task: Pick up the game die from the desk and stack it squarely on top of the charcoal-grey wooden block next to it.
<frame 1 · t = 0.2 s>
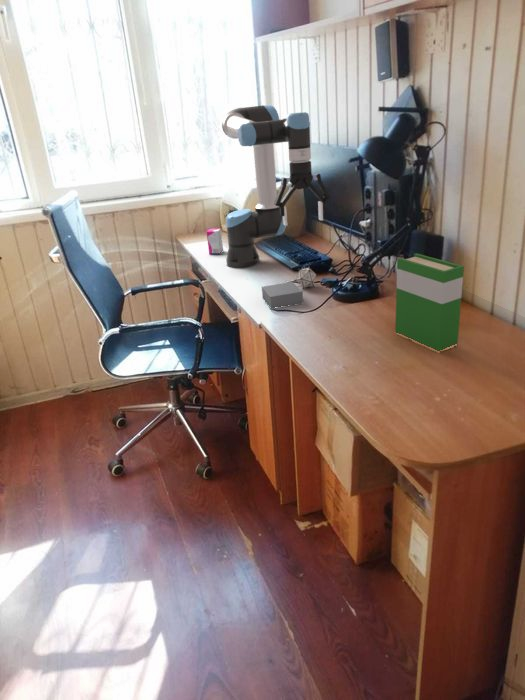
hand: (303, 222, 198), 26 cm above the table, tool pointing down, fingers open, 13 cm apart
hardback book: (425, 340, 162), on the table
base block: (282, 301, 201), on the table
game die: (306, 287, 213), on the table
supplement box: (216, 253, 269), on the table
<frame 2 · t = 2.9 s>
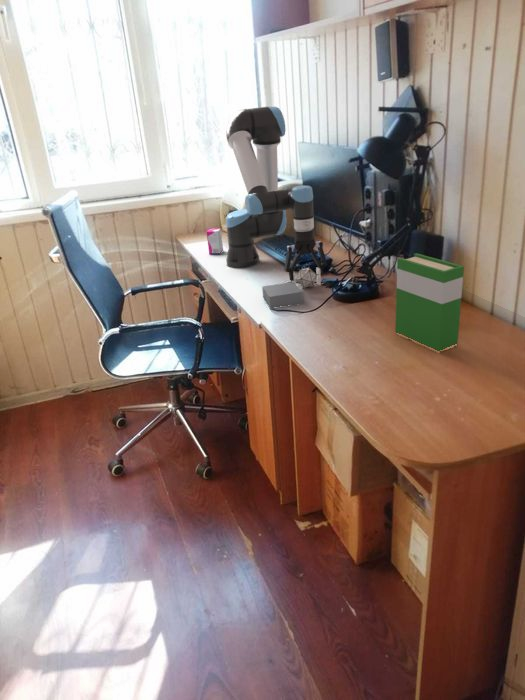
hand: (306, 286, 212), 0 cm above the table, tool pointing down, fingers closed on game die, 9 cm apart
game die: (306, 287, 213), on the table, touching gripper
everything else where it was.
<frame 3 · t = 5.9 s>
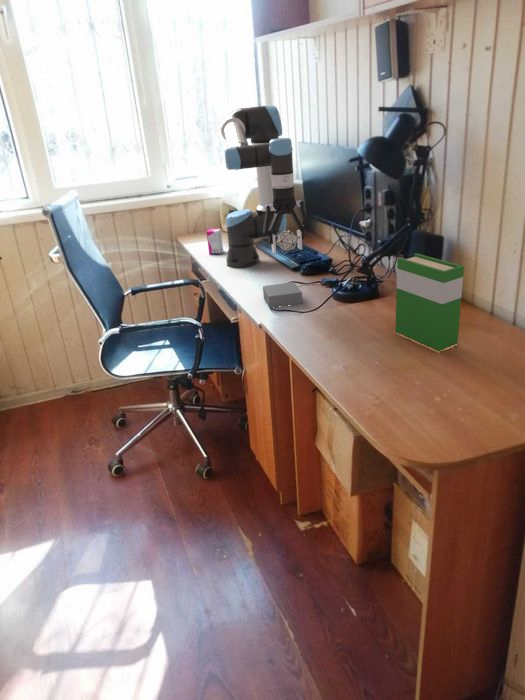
hand: (287, 250, 196), 18 cm above the table, tool pointing down, fingers closed on game die, 9 cm apart
game die: (287, 252, 197), point 17 cm above the table, touching gripper
everything else where it was.
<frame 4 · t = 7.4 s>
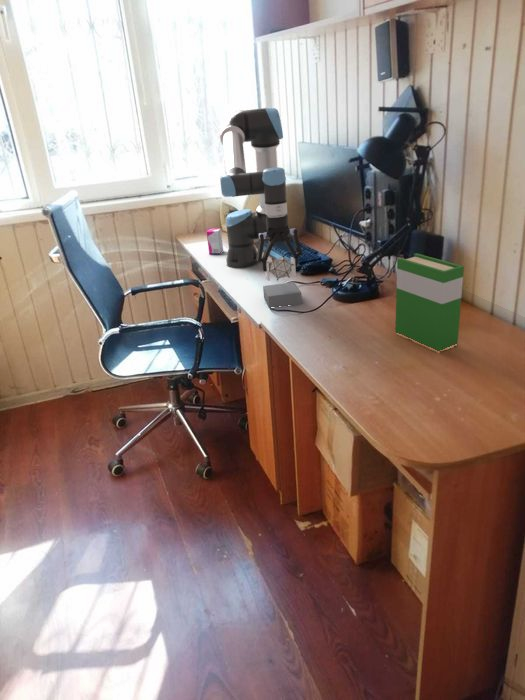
hand: (280, 277, 197), 9 cm above the table, tool pointing down, fingers closed on game die, 9 cm apart
game die: (281, 278, 197), point 9 cm above the table, touching gripper
everything else where it was.
when the fingers open (7 cm above the table, at t = 8.6 s): game die drops 2 cm, resting on base block.
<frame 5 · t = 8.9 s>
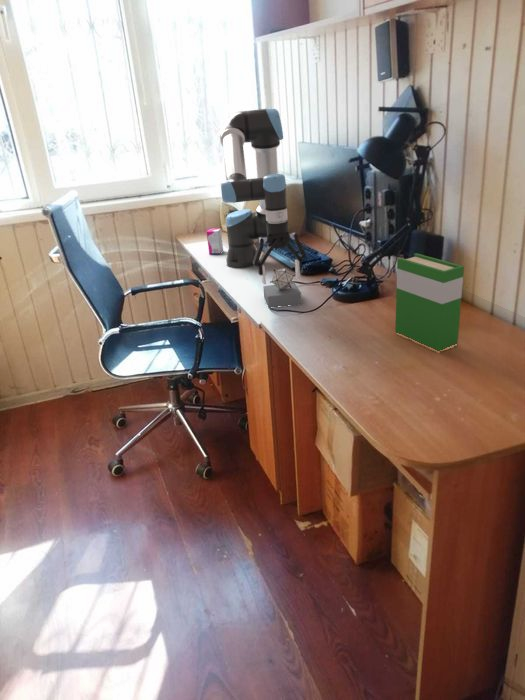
hand: (281, 280, 198), 8 cm above the table, tool pointing down, fingers open, 12 cm apart
base block: (282, 302, 201), on the table, touching game die
game die: (283, 289, 199), point 4 cm above the table, touching base block
everything else where it was.
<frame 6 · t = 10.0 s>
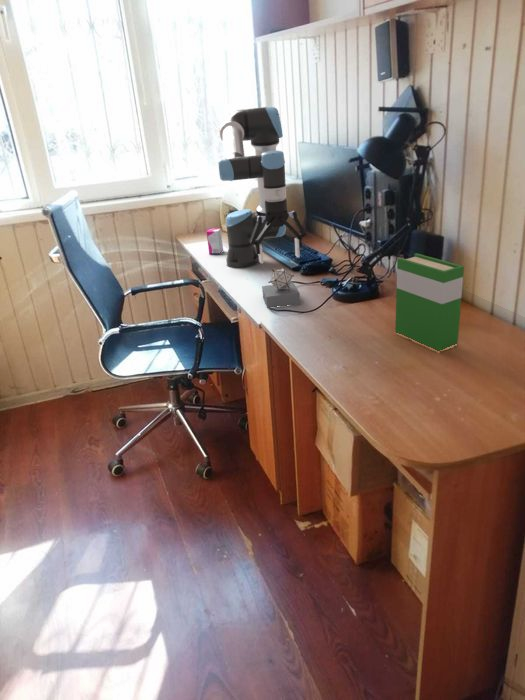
hand: (279, 259, 195), 16 cm above the table, tool pointing down, fingers open, 13 cm apart
nothing on the table moved.
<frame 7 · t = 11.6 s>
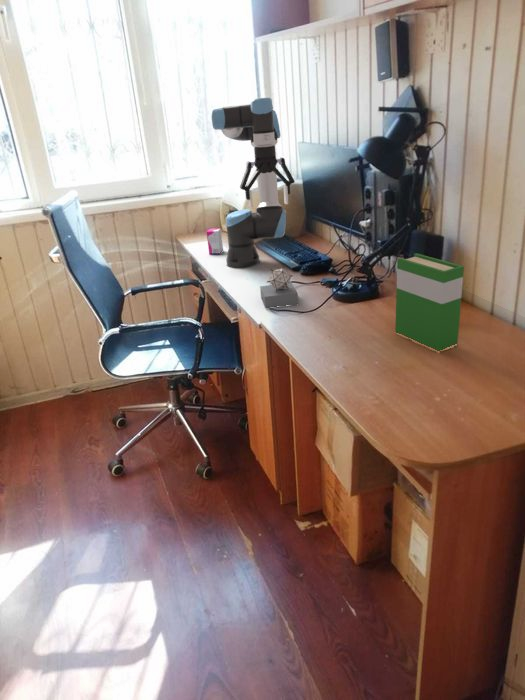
hand: (268, 206, 203), 32 cm above the table, tool pointing down, fingers open, 13 cm apart
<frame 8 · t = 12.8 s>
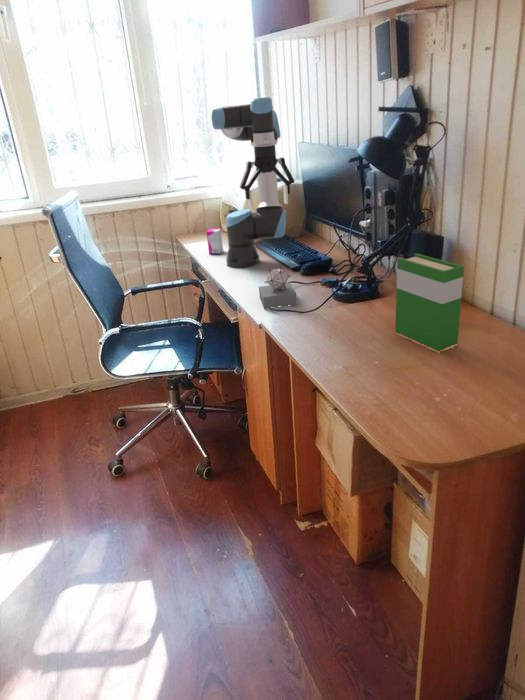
hand: (268, 205, 203), 32 cm above the table, tool pointing down, fingers open, 13 cm apart
base block: (278, 302, 201), on the table
game die: (278, 289, 199), point 4 cm above the table
everything else where it was.
at the end: game die 0.4 cm off-centre on the base block, point 4.8 cm above the base block's base; game die tilted 1°; the gripper is holding nothing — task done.
